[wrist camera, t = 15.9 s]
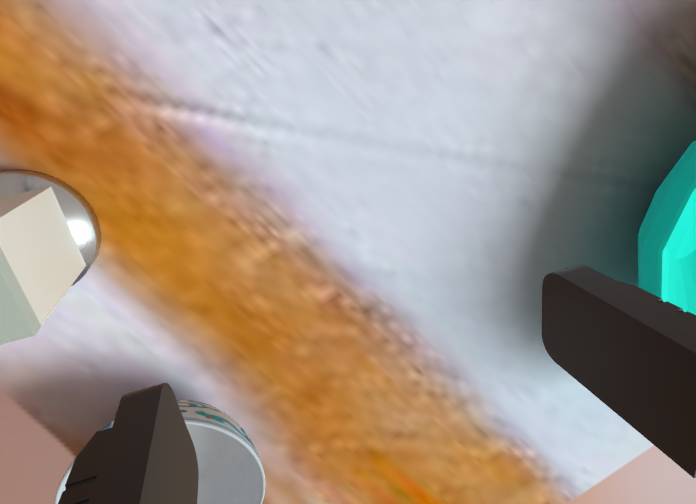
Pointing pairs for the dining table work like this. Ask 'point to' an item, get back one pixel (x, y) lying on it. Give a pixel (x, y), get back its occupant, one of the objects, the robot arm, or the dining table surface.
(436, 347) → the dining table surface
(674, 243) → the table top decor
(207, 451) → the chinaware
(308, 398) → the dining table surface
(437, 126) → the dining table surface
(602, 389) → the robot arm
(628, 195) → the dining table surface
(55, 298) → the pale green block
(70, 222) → the grey post on dish
